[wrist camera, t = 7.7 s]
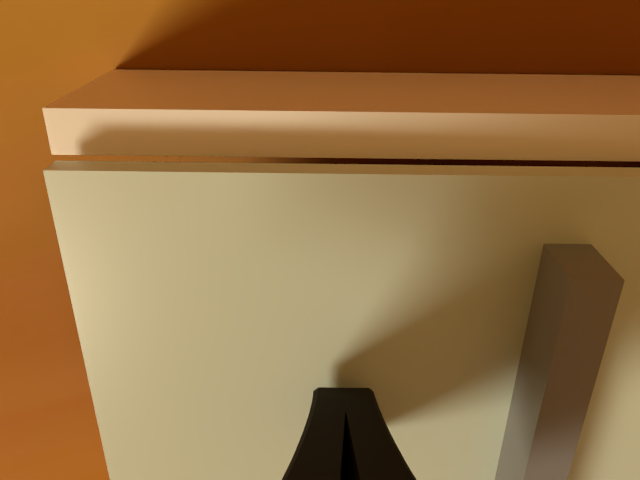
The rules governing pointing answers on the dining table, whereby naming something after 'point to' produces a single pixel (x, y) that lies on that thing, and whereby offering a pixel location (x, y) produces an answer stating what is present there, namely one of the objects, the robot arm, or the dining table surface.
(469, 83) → the housing
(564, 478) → the door
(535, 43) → the dining table surface
